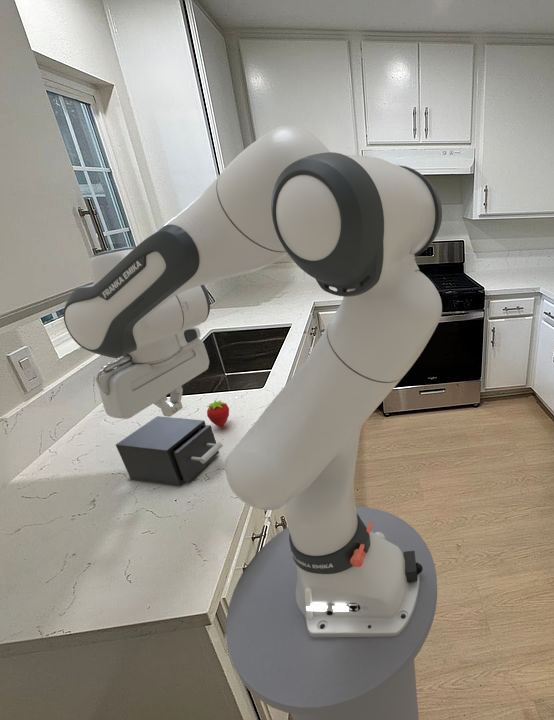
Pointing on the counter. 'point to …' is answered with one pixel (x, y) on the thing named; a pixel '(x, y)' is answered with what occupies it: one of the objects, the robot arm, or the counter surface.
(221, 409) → the strawberry
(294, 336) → the counter surface
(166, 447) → the drawer box
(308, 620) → the robot arm
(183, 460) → the dark grey drawer
